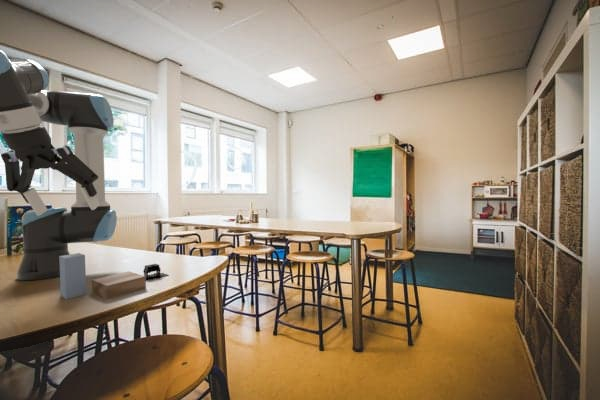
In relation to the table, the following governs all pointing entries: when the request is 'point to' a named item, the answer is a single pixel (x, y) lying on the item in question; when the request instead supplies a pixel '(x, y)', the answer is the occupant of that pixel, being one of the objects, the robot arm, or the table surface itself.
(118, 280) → the base block
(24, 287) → the table surface
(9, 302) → the table surface
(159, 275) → the black piece
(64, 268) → the tower block
